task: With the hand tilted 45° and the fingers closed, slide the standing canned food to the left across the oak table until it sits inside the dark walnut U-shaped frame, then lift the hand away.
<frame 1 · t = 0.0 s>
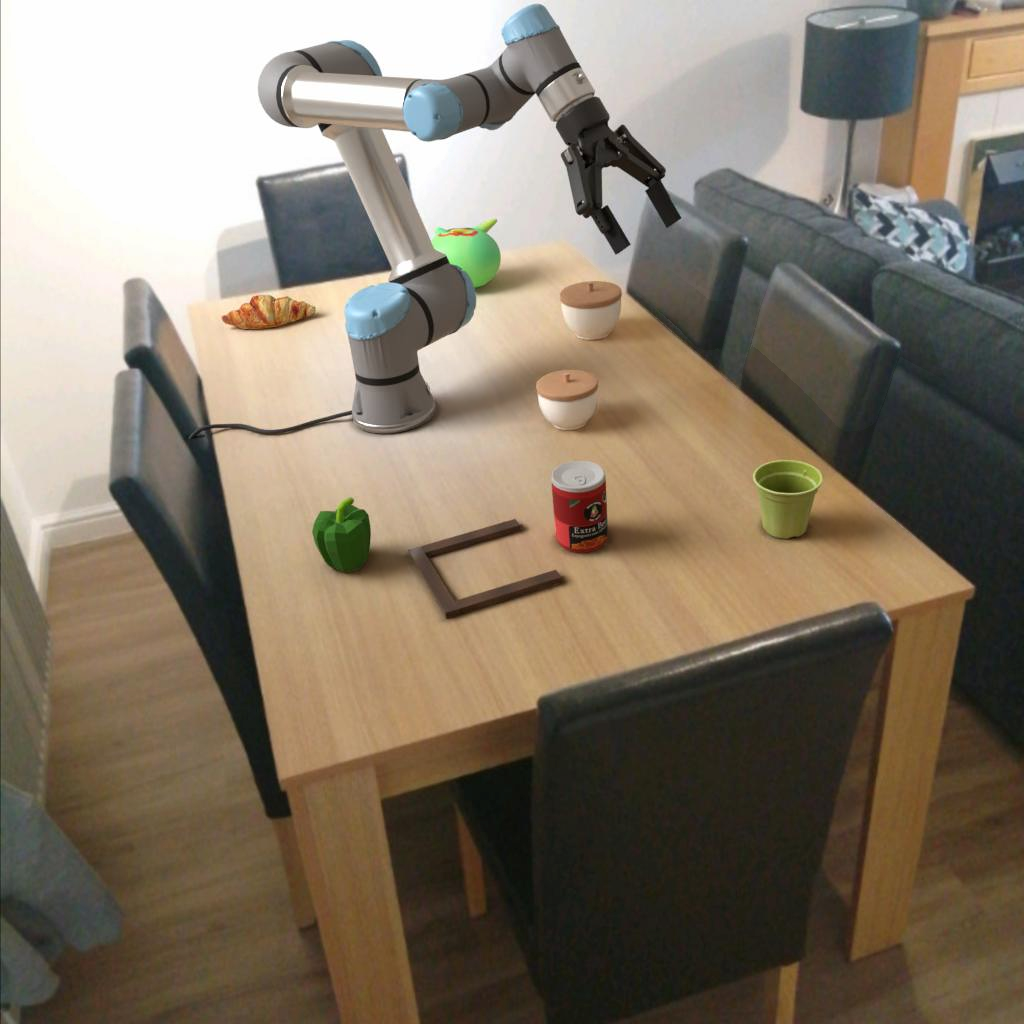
hand: (649, 236, 154), 36 cm above the table, tool tilted 35°, fingers open, 13 cm apart
walnut frame: (489, 566, 148), on the table
bell pepper: (349, 563, 152), on the table
croissant: (271, 324, 238), on the table
trinket box: (569, 423, 183), on the table
toy bird: (466, 287, 247), on the table
plant pot: (784, 529, 150), on the table
canned food: (582, 539, 152), on the table
lidded bowl: (592, 334, 217), on the table
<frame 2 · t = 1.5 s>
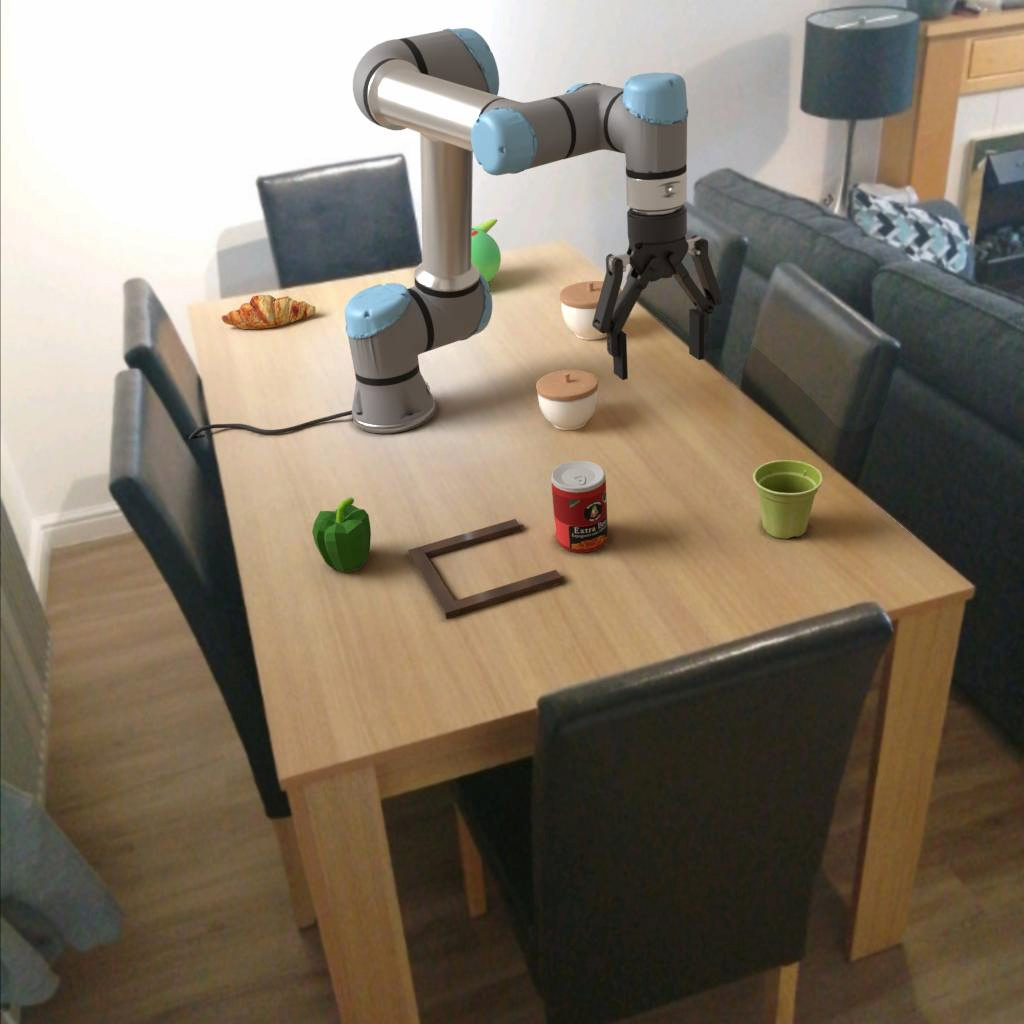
hand: (659, 366, 143), 24 cm above the table, tool pointing down, fingers open, 11 cm apart
nothing on the table moved.
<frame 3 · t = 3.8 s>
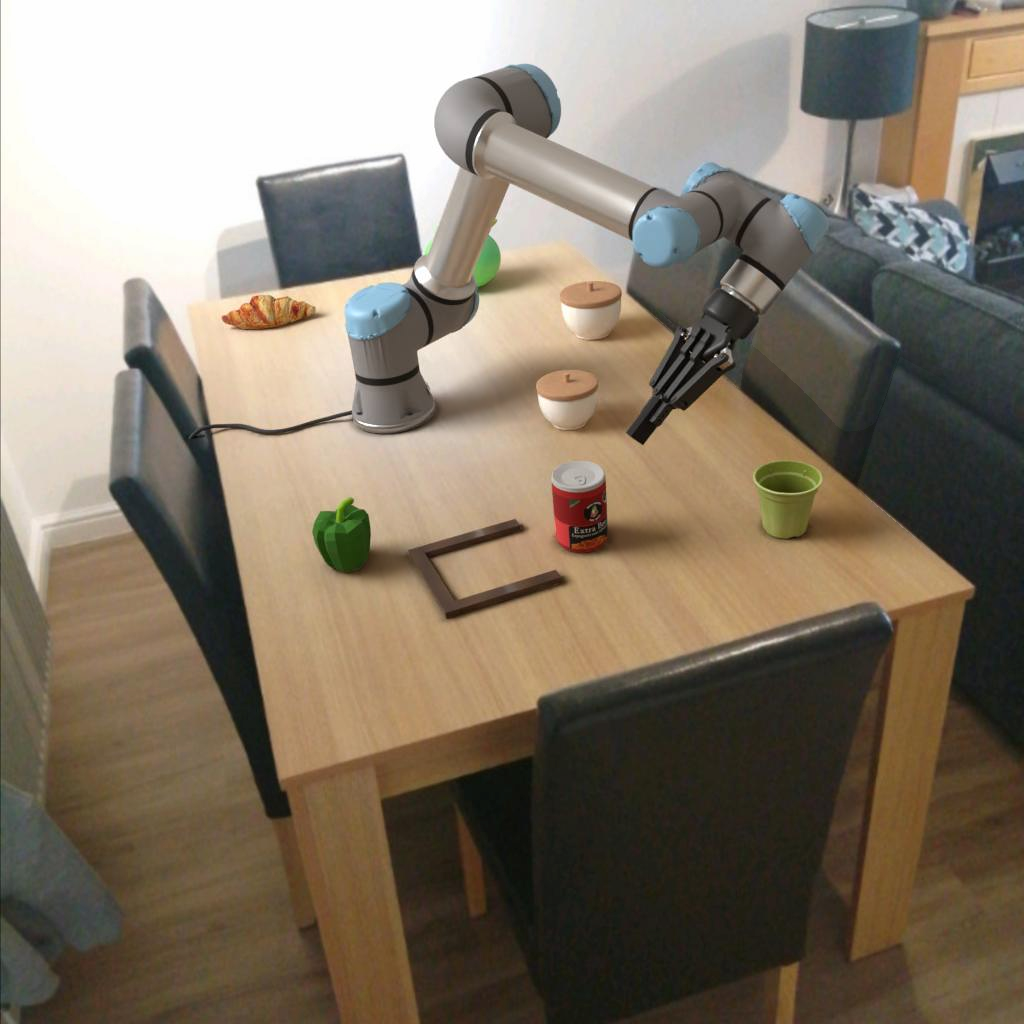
hand: (634, 438, 147), 14 cm above the table, tool tilted 45°, fingers closed
nothing on the table moved.
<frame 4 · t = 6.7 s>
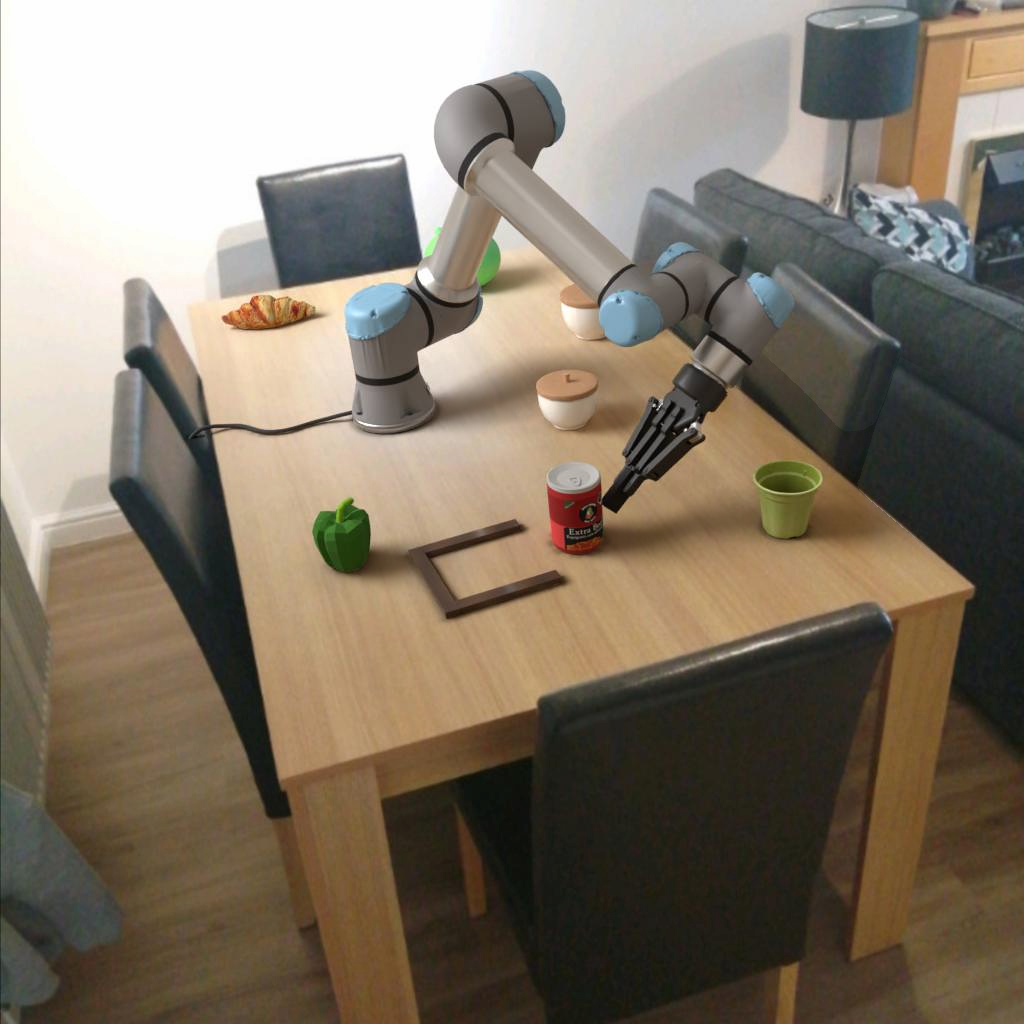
hand: (607, 507, 151), 4 cm above the table, tool tilted 45°, fingers closed
canned food: (577, 541, 152), on the table, touching gripper
everything else where it was.
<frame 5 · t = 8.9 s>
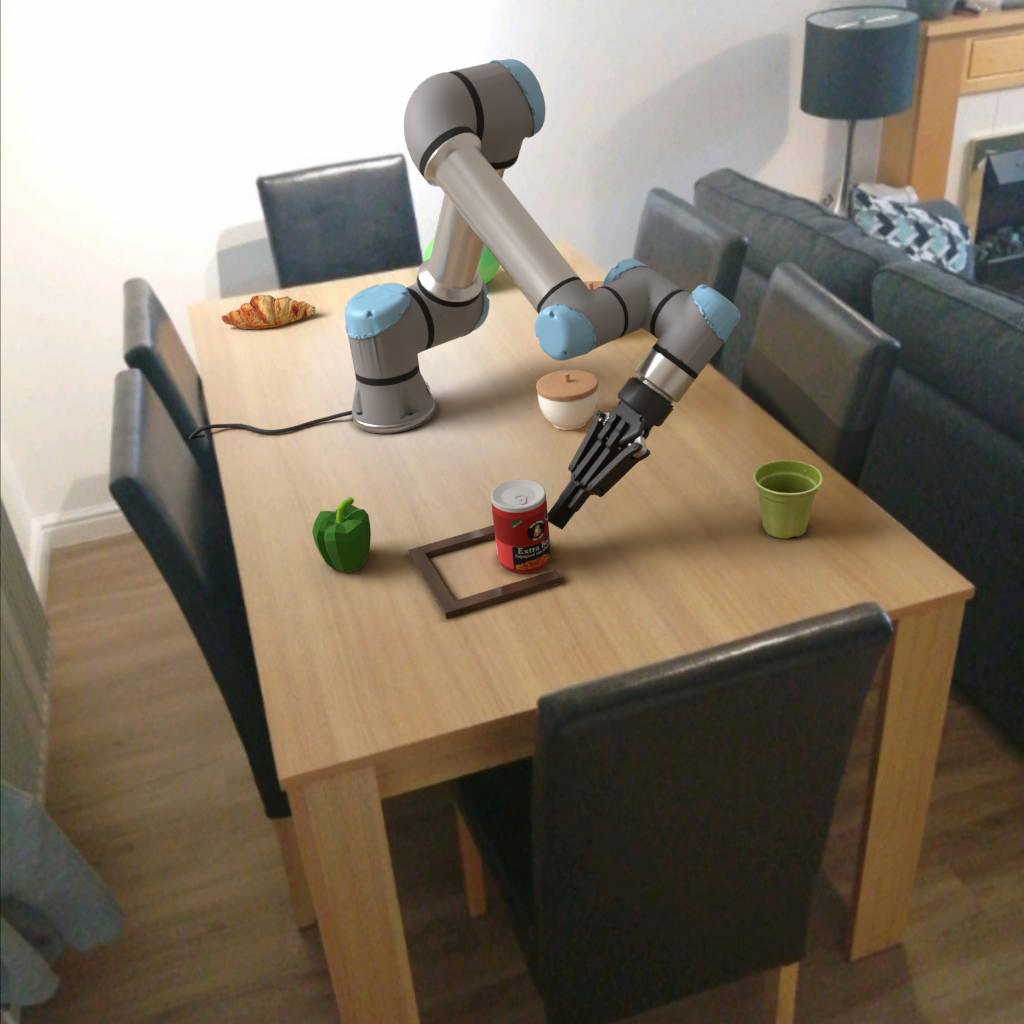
hand: (553, 523, 148), 4 cm above the table, tool tilted 45°, fingers closed
canned food: (524, 559, 149), on the table, touching gripper
everything else where it was.
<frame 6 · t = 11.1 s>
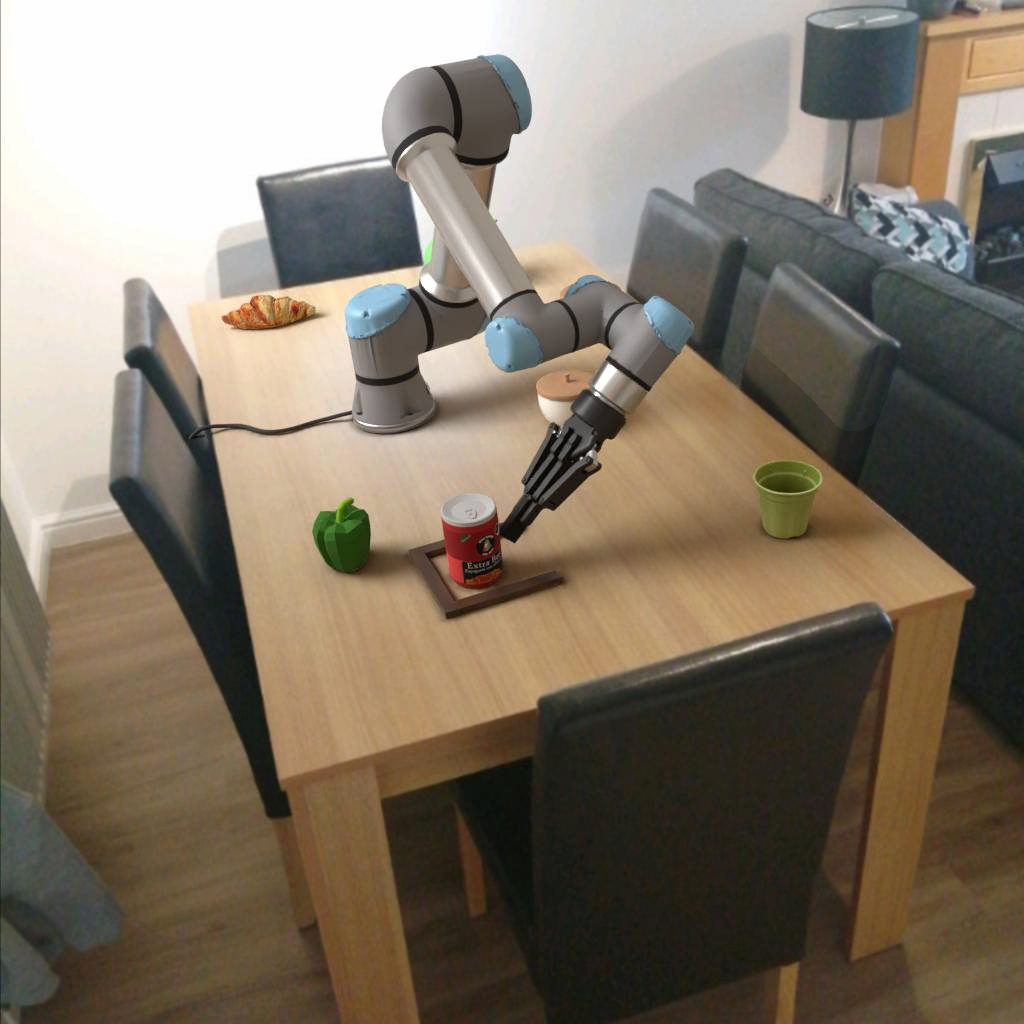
hand: (506, 537, 146), 4 cm above the table, tool tilted 45°, fingers closed
canned food: (476, 574, 147), on the table, touching gripper
everything else where it was.
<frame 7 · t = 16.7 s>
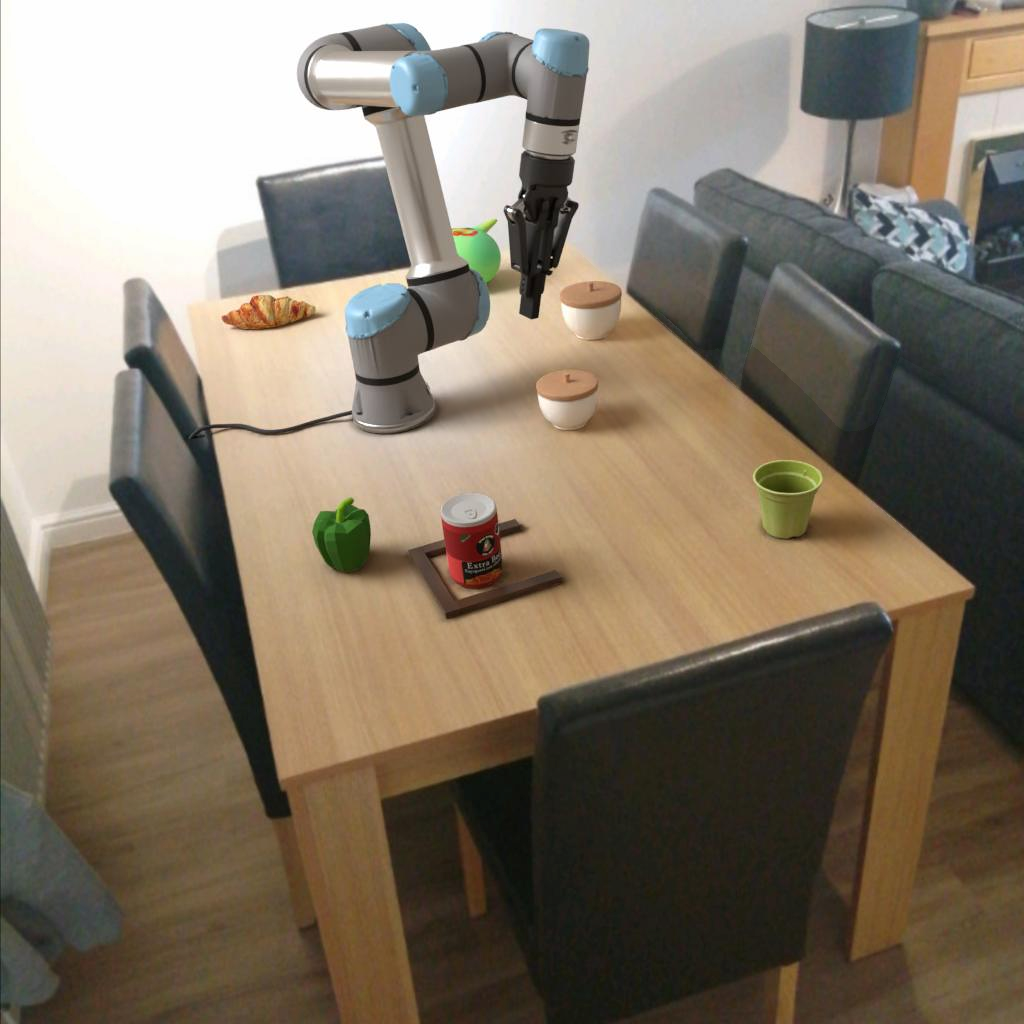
hand: (528, 315, 155), 27 cm above the table, tool pointing down, fingers closed
canned food: (476, 574, 147), on the table
everything else where it was.
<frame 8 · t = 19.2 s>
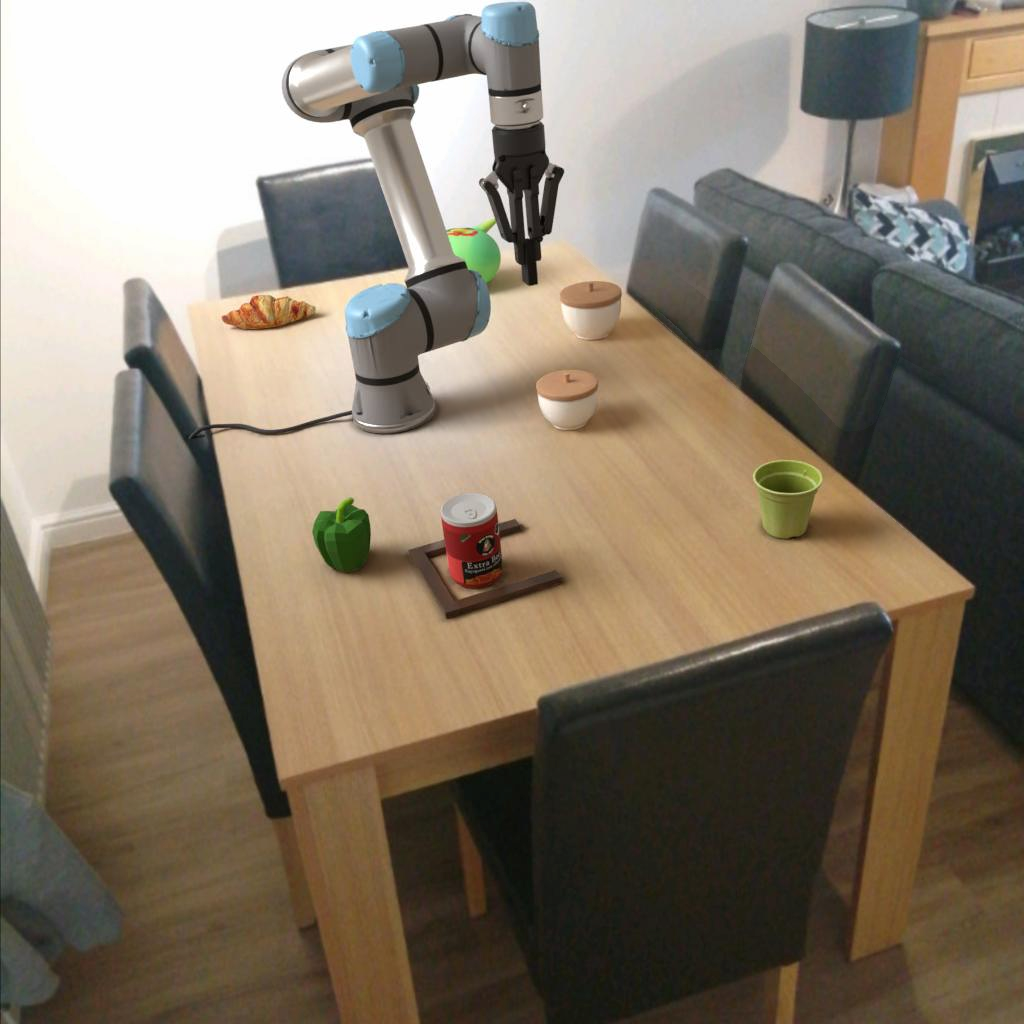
hand: (530, 282, 160), 29 cm above the table, tool pointing down, fingers closed
nothing on the table moved.
at the end: canned food 2.3 cm from the walnut frame (horizontally); canned food tilted 0°; canned food moved 16.7 cm from its start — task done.
